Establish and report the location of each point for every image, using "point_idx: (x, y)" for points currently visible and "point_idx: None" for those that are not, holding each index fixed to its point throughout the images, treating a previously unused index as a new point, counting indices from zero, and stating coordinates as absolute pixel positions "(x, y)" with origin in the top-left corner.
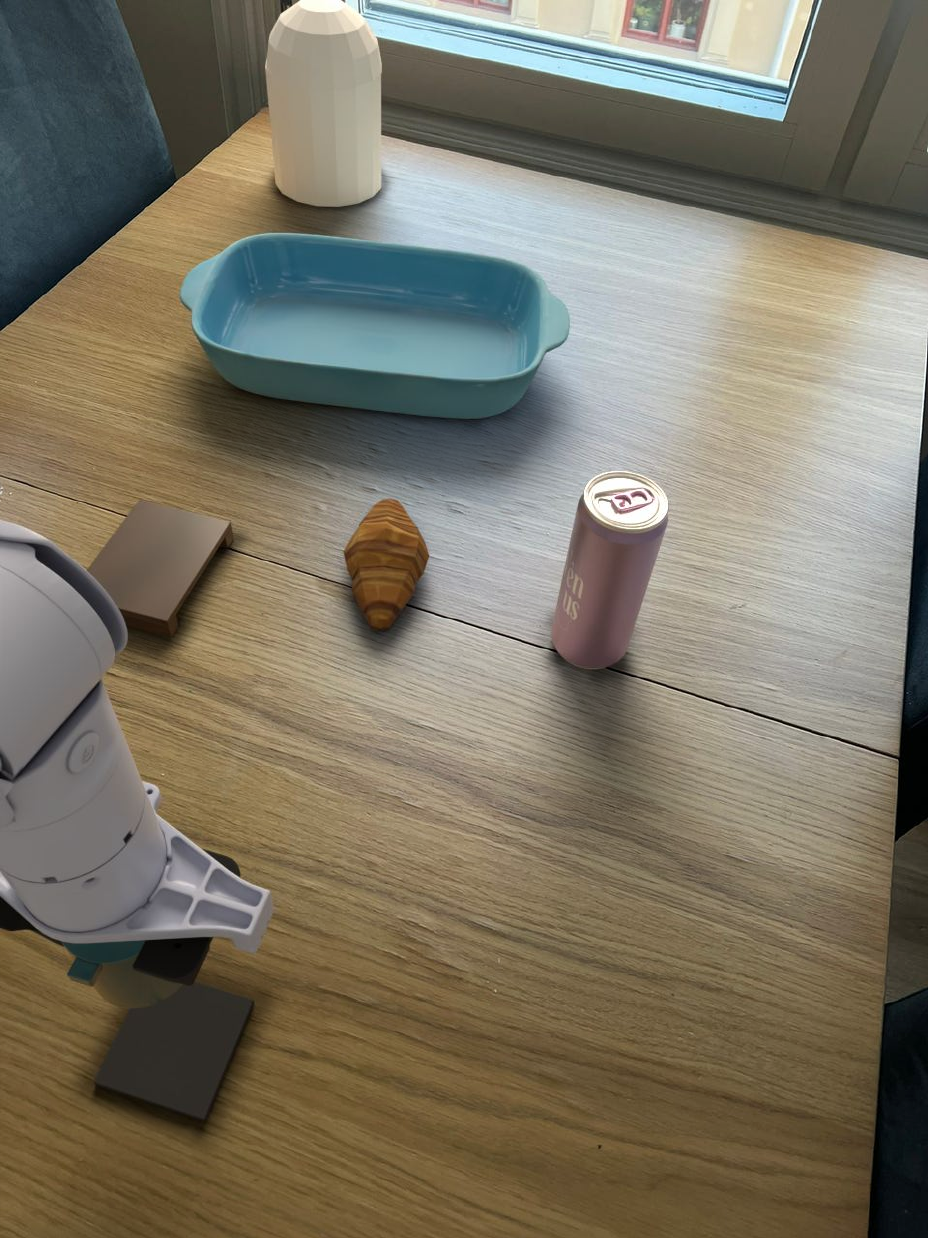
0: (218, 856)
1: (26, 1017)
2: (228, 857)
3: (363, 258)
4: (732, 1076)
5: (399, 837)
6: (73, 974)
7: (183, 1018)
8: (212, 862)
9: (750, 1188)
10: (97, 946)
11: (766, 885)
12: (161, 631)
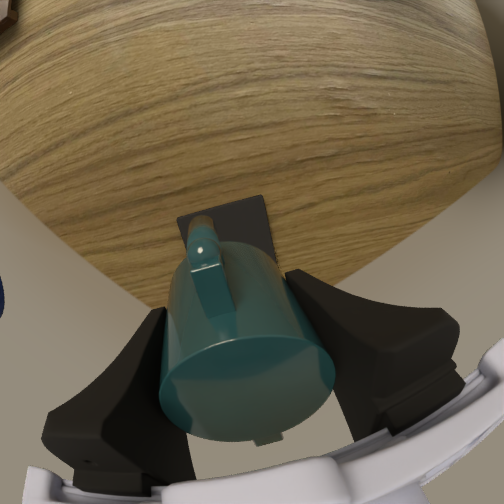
0: (430, 338)
1: (132, 285)
2: (445, 326)
3: None
4: (477, 121)
5: (286, 31)
6: (263, 444)
7: (225, 233)
8: (491, 425)
9: (484, 163)
10: (266, 428)
11: (461, 27)
12: (8, 24)
